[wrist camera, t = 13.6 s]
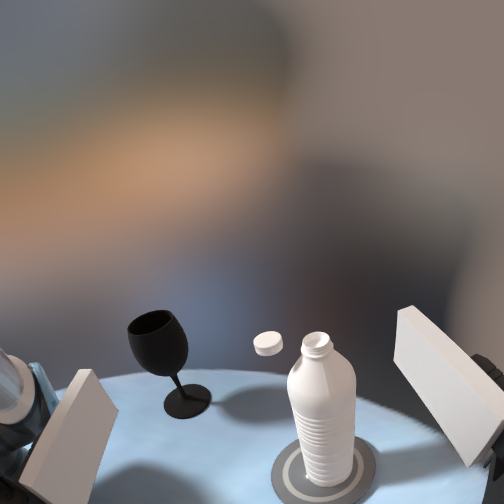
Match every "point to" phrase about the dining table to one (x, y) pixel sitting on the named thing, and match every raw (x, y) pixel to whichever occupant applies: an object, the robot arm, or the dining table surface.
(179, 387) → the wine glass
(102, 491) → the dining table surface
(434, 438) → the dining table surface
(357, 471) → the slate coaster
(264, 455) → the dining table surface
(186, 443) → the dining table surface
